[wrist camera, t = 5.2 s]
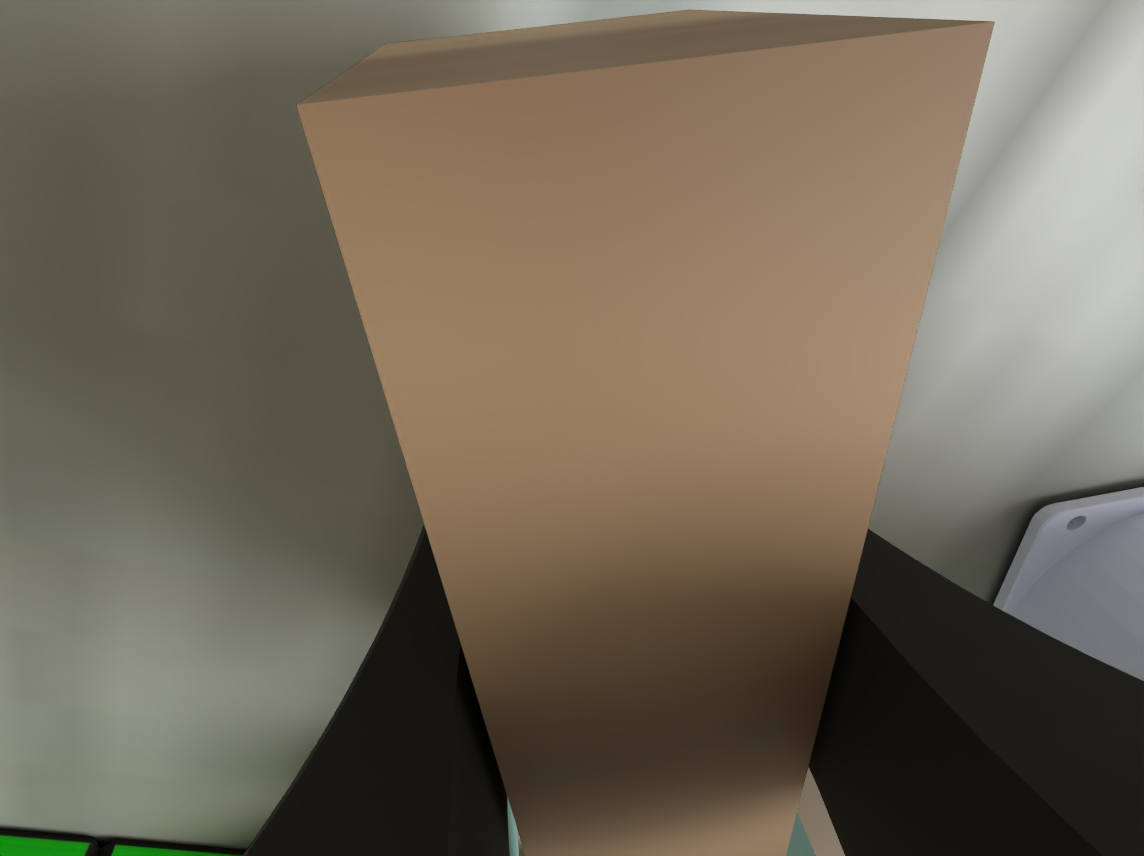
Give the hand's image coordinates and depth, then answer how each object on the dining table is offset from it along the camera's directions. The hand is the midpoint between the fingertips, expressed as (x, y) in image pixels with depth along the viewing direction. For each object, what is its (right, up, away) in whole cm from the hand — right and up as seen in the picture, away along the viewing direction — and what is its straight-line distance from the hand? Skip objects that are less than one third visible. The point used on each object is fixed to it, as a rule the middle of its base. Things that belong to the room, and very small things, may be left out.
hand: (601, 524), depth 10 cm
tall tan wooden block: (0, +1, +1) cm, 2 cm away
